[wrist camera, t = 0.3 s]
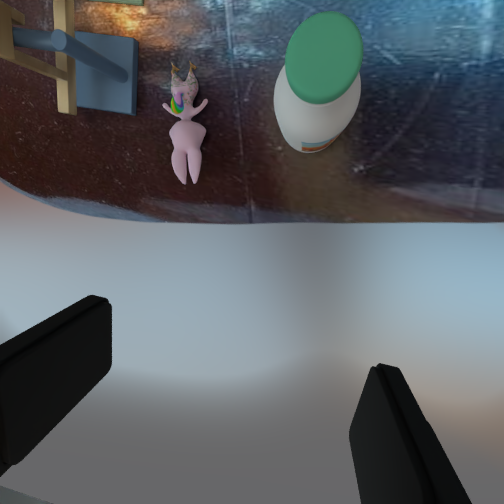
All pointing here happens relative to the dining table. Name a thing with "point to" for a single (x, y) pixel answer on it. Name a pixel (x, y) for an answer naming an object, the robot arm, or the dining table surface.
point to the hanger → (65, 69)
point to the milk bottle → (319, 81)
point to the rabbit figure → (186, 126)
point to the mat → (124, 2)
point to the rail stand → (93, 65)
